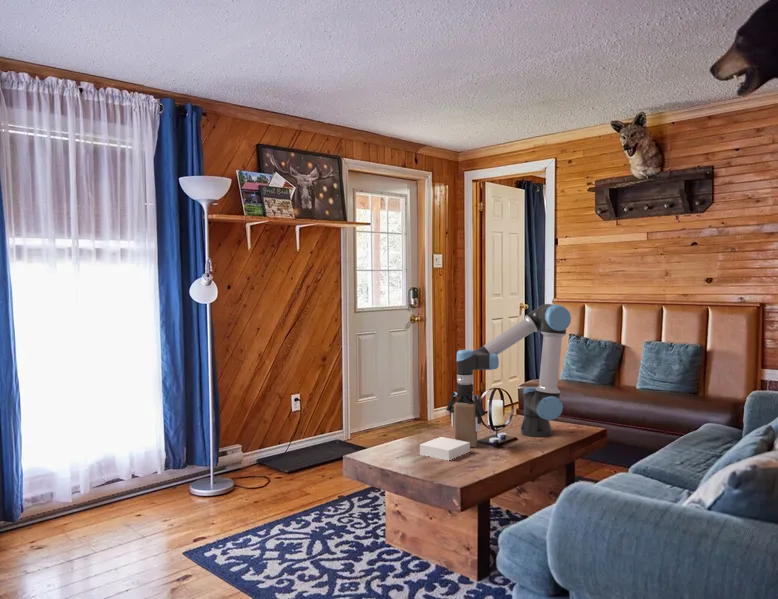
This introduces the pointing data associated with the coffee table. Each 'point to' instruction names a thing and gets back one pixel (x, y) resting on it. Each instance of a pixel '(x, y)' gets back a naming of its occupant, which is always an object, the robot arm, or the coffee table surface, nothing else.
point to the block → (465, 423)
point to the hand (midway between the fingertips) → (465, 428)
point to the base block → (444, 448)
